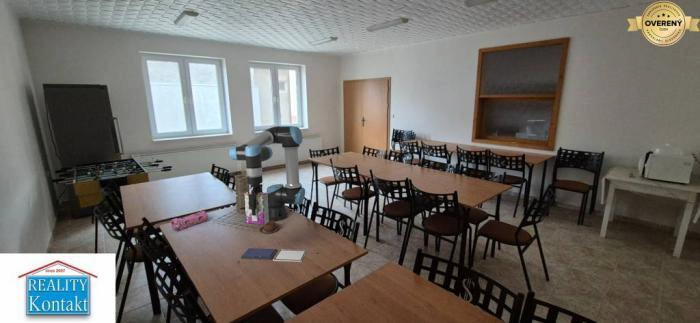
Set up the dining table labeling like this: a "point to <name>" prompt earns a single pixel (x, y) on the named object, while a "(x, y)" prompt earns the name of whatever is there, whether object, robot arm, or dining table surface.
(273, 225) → the cup and saucer
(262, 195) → the candy bar box
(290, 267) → the dining table surface
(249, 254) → the ink pad
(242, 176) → the block tower
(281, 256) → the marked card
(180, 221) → the pencil case
